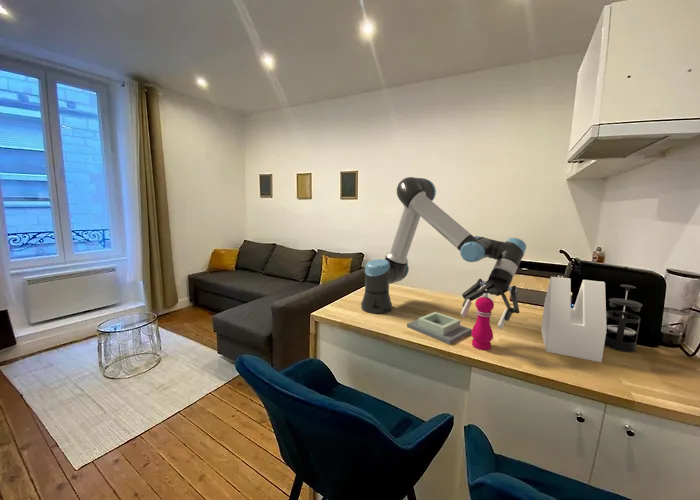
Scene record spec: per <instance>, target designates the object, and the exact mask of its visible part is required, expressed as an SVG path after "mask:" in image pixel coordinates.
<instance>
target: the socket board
mask: <svg viewBox="0 0 700 500" xmlns="http://www.w3.org/2000/svg"><path fill="white" fill-rule="evenodd" d="M406 327H407V328H409V329H411V330H413V331H416V332H418V333H421V334H423V335H426V336H428V337H430V338H432V339H435V340H438V341H440V342H442V343H445V344H448V345H451V344H453V343H454V342H455V343H456V342H457V341H458V340H460V339H462V338H464V337H466V336H468V335H471V333H472V329H473V328H471V327H467V326H463V325H461V319H458V318H455V317H452V316H449V315H446V314H443V313H440V312H437V311H434V312H431V313H429V314H426V315H423V316H420V317H418V318H417V319H415V320H413V321H410V322H408V323H406Z"/></svg>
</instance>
